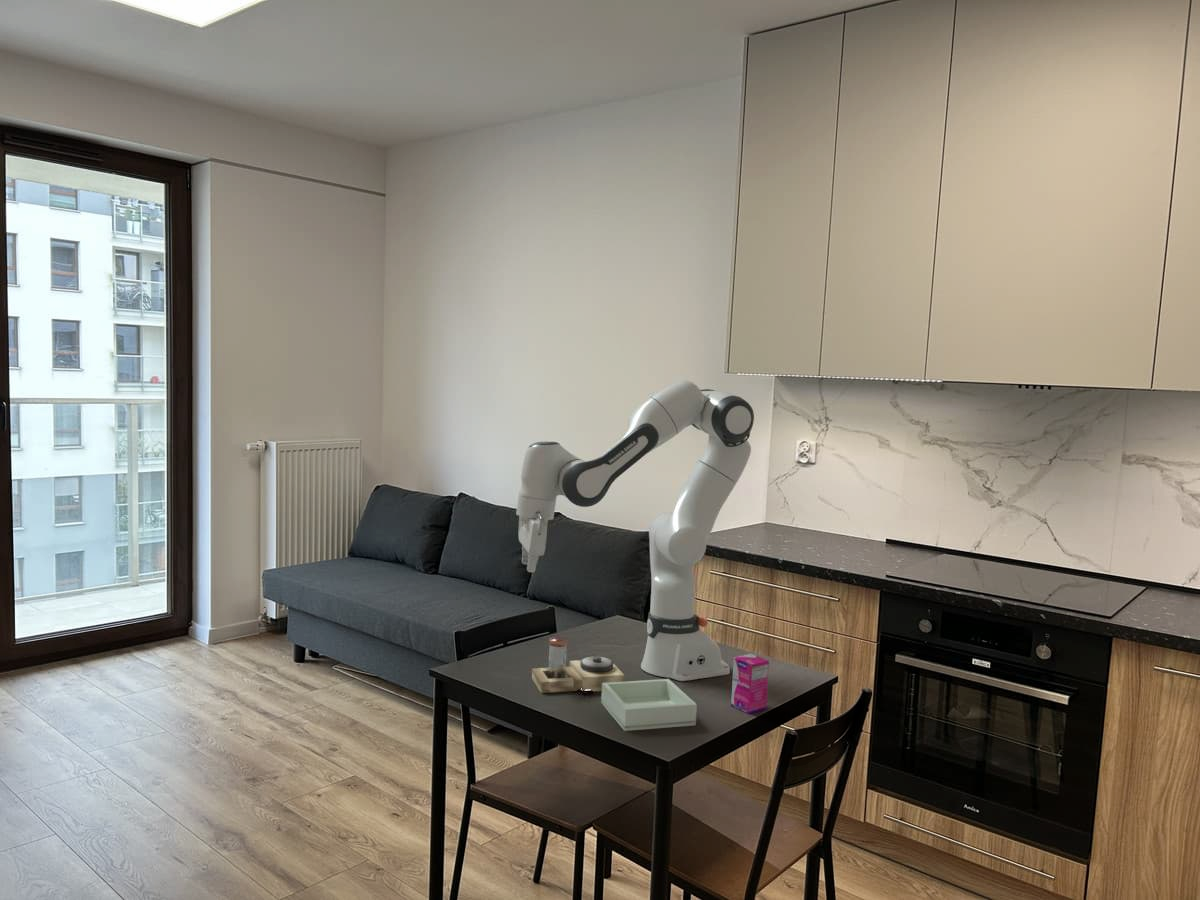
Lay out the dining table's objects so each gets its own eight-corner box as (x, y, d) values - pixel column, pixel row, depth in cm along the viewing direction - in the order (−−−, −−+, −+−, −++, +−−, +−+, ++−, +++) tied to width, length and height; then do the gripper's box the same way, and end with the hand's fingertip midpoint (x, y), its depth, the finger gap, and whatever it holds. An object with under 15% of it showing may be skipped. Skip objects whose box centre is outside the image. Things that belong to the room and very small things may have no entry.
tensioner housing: (608, 672, 216) (609, 649, 215) (623, 689, 204) (625, 664, 204) (530, 677, 210) (531, 653, 209) (542, 694, 198) (543, 669, 198)
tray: (667, 698, 200) (668, 678, 200) (695, 725, 185) (696, 704, 185) (601, 702, 195) (602, 683, 195) (624, 730, 180) (625, 709, 180)
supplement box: (729, 706, 197) (732, 656, 196) (748, 701, 200) (751, 652, 200) (748, 714, 192) (751, 664, 191) (767, 709, 196) (770, 660, 195)
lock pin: (562, 680, 208) (564, 635, 207) (567, 687, 204) (569, 641, 203) (545, 682, 207) (547, 636, 206) (549, 688, 203) (551, 641, 202)
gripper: (556, 517, 195) (548, 578, 195) (542, 505, 215) (535, 561, 215) (528, 513, 193) (520, 575, 194) (517, 503, 213) (509, 558, 214)
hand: (528, 567), depth 205 cm, fingers open, 8 cm apart
